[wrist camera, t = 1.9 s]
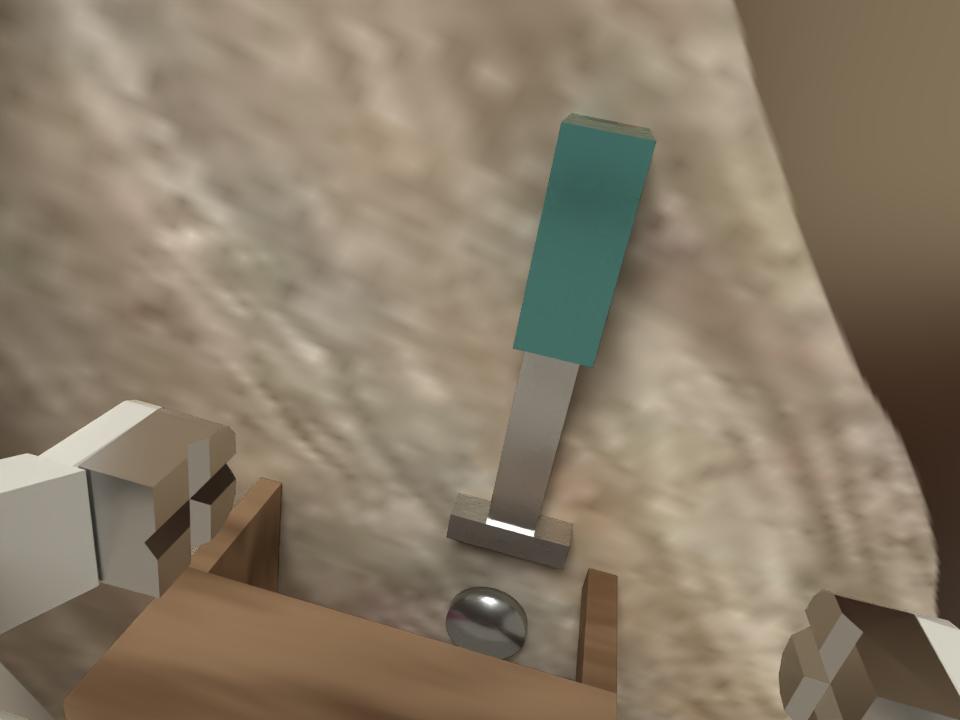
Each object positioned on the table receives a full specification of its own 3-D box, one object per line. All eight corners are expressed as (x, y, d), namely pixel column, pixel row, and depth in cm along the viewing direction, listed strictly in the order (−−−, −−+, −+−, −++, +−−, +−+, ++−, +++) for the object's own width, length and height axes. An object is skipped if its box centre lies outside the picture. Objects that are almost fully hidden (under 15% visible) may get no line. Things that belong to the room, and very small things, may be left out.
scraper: (534, 105, 24) (515, 112, 20) (688, 136, 24) (705, 150, 19) (454, 515, 33) (429, 583, 29) (565, 545, 33) (556, 619, 28)
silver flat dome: (456, 574, 35) (451, 589, 34) (534, 596, 35) (532, 612, 34) (445, 629, 37) (440, 646, 36) (519, 651, 37) (516, 668, 36)
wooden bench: (261, 477, 35) (62, 701, 22) (617, 575, 33) (616, 883, 20) (258, 605, 39) (90, 853, 27) (572, 699, 37) (549, 1016, 25)
